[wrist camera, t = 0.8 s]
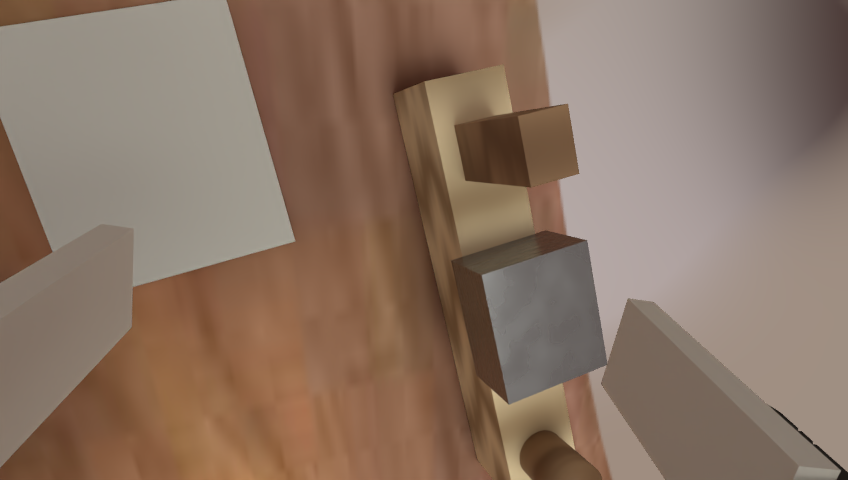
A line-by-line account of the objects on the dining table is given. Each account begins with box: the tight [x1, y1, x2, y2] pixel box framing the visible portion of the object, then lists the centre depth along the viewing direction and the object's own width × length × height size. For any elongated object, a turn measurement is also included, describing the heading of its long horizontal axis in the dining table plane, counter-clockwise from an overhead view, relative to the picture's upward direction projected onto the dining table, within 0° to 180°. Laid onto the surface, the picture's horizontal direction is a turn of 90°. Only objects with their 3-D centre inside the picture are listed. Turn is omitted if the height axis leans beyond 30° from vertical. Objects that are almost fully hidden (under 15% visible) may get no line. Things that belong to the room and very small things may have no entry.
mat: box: [0, 0, 295, 287], centre depth 30 cm, size 14×12×1 cm
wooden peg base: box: [393, 64, 602, 480], centre depth 31 cm, size 26×5×13 cm, turn 13°
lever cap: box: [451, 231, 607, 405], centre depth 30 cm, size 7×6×4 cm
